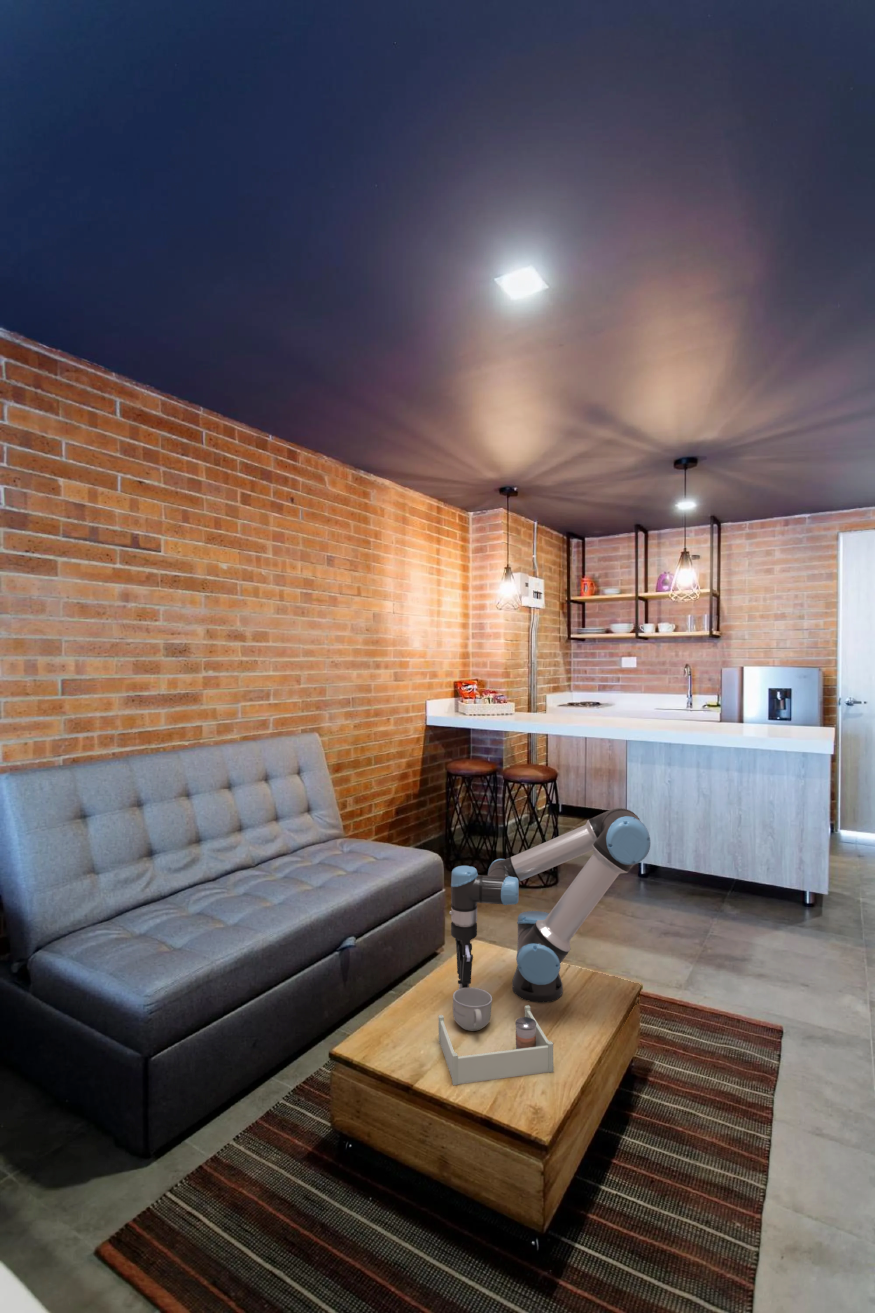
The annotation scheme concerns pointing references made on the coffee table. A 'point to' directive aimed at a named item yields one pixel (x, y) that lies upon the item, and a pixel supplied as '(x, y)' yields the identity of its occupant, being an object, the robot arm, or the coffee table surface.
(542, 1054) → the crate
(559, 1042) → the coffee table surface
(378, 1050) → the coffee table surface
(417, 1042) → the coffee table surface
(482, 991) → the teacup
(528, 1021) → the tin can
